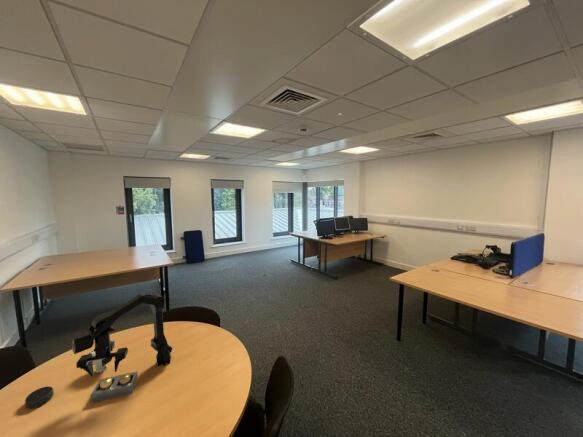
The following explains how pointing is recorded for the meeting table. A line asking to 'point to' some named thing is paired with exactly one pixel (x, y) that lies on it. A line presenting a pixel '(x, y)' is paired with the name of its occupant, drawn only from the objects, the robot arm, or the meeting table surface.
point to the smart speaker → (39, 397)
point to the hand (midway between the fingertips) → (104, 373)
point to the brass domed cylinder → (106, 383)
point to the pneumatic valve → (100, 363)
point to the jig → (114, 389)
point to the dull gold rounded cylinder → (125, 379)
